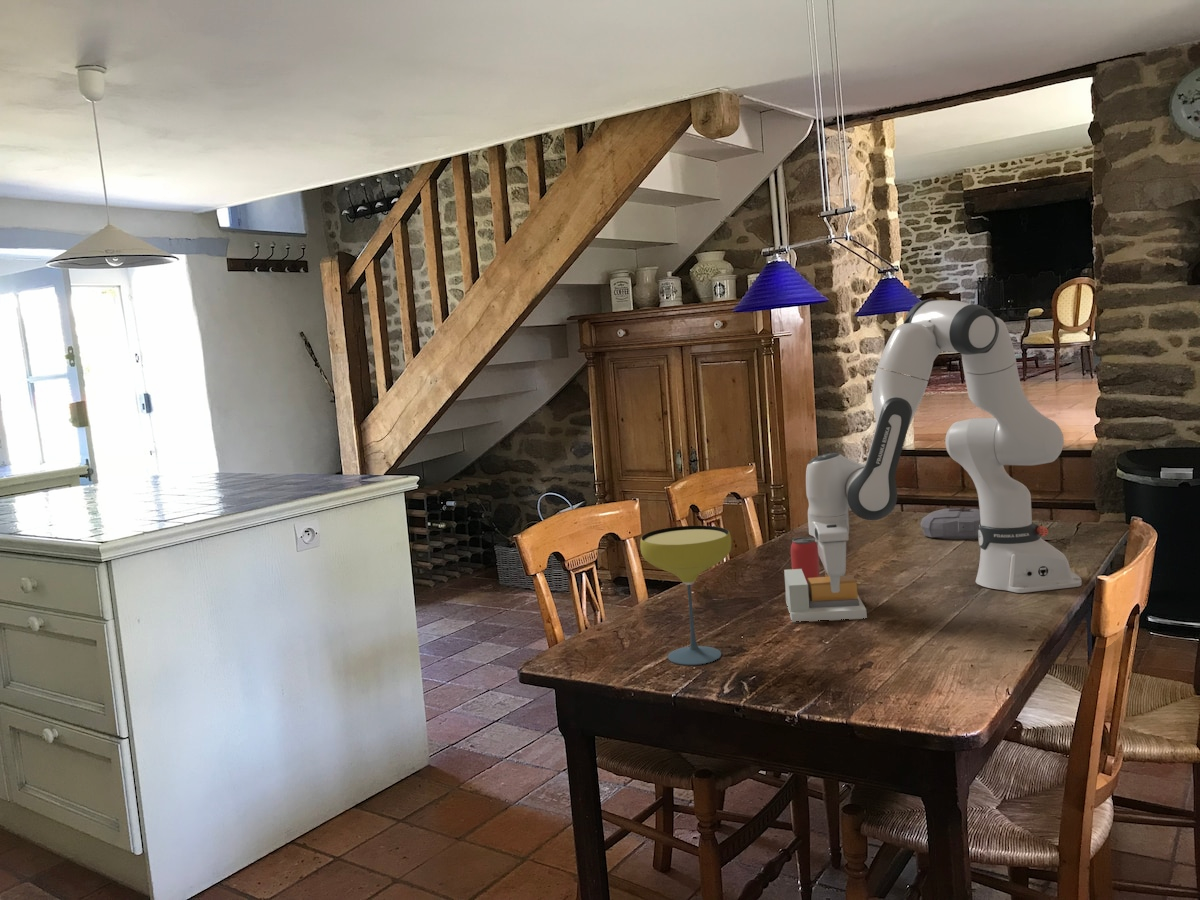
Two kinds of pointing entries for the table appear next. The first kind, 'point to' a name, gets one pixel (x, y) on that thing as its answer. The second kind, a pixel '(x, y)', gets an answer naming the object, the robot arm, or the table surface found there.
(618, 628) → the table surface
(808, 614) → the white l-shaped stand
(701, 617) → the table surface
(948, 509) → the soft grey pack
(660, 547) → the cocktail glass
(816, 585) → the cardboard box
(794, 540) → the beer can
